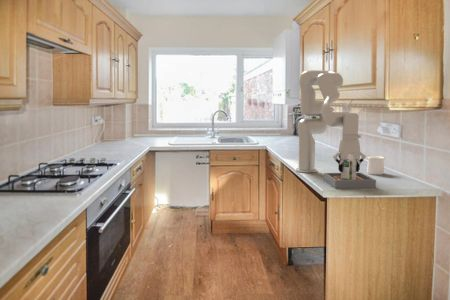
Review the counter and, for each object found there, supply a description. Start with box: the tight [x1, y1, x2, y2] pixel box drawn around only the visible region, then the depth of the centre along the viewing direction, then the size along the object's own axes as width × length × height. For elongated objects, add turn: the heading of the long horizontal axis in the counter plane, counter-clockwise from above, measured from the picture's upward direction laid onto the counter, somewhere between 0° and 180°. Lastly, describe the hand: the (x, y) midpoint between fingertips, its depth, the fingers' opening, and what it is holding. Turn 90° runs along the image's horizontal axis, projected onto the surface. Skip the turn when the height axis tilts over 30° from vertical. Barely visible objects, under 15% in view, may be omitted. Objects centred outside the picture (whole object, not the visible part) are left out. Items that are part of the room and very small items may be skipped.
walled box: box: [323, 172, 377, 189], centre depth 210 cm, size 20×20×4 cm
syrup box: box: [340, 154, 357, 180], centre depth 209 cm, size 6×6×14 cm
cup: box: [366, 155, 385, 176], centre depth 238 cm, size 10×10×10 cm
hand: (348, 171), depth 210 cm, fingers closed on syrup box, 7 cm apart
